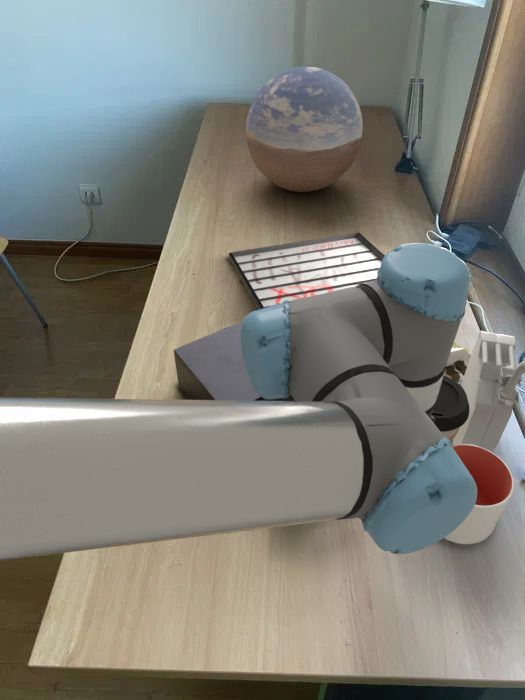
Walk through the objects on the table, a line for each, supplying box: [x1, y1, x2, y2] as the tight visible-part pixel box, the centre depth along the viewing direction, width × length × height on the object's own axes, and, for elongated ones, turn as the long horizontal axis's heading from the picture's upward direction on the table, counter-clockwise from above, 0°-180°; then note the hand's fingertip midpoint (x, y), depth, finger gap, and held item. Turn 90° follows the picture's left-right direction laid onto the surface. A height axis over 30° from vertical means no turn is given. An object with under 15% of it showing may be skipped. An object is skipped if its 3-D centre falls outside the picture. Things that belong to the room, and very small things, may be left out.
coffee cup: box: [432, 376, 470, 444], centre depth 82 cm, size 10×10×15 cm
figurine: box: [444, 342, 471, 383], centre depth 101 cm, size 9×7×15 cm
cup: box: [444, 444, 515, 545], centre depth 76 cm, size 10×10×10 cm
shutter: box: [228, 231, 386, 310], centre depth 120 cm, size 32×7×31 cm
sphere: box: [245, 65, 364, 193], centre depth 145 cm, size 30×30×30 cm
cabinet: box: [173, 320, 265, 401], centre depth 93 cm, size 17×14×9 cm
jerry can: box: [452, 330, 525, 454], centre depth 81 cm, size 15×5×25 cm, turn 165°
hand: (368, 516), depth 72 cm, fingers closed
